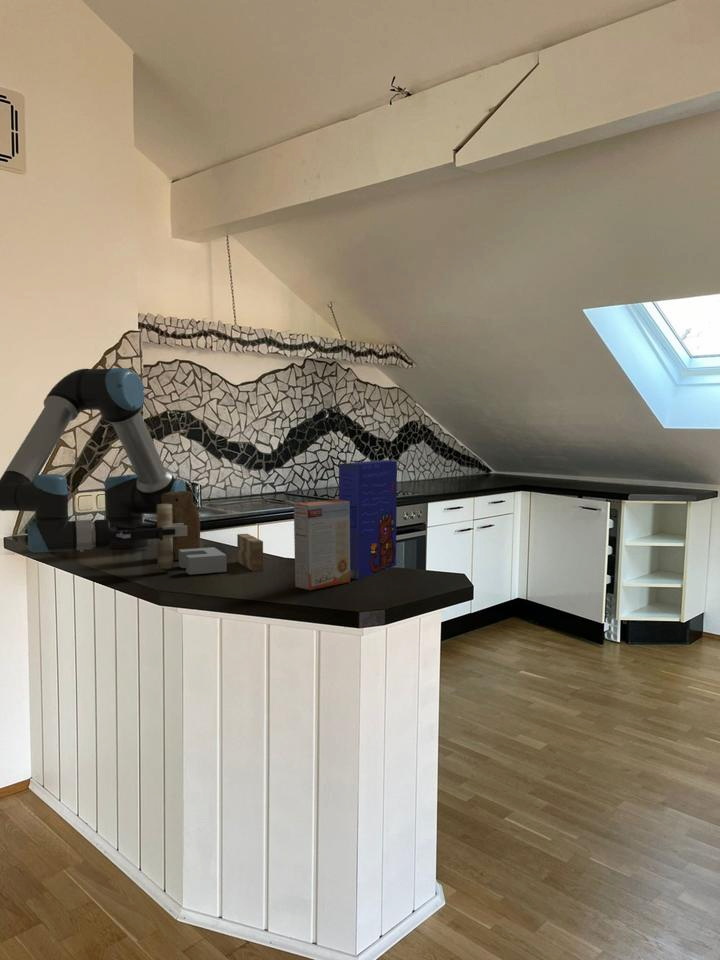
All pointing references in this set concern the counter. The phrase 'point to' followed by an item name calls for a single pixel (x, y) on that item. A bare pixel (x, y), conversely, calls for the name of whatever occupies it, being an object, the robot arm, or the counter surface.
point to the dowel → (167, 543)
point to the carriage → (202, 560)
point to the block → (183, 520)
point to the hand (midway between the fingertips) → (185, 529)
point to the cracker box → (322, 544)
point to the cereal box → (370, 514)
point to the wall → (250, 552)
